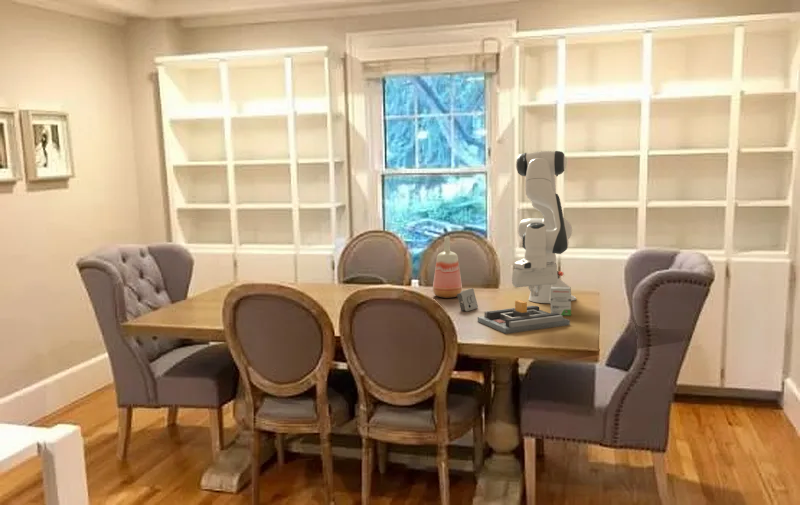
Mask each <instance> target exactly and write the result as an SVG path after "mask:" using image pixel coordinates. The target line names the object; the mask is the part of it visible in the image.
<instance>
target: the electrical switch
mask: <svg viewBox="0 0 800 505" xmlns="http://www.w3.org/2000/svg"><path fill="white" fill-rule="evenodd" d="M457 301H458V304H459V308H460V311H461V312H463V311H465V312H469V311H473V310H475V309H478V308H479V305H478V302H477V297H476V294H475V290H474V288H471V287H470V288H468V289H465V290H464V289H463V290H462V291H461V293H459V294H457Z"/></svg>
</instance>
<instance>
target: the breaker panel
mask: <svg viewBox="0 0 800 505" xmlns="http://www.w3.org/2000/svg"><path fill="white" fill-rule="evenodd" d="M527 311H528V312H529V315H527V316H534V315H541V314H549V313H550V312H547V311H544V310H541V309H539V311H537V310H534V309H533V310H527ZM519 317H526V316H519ZM510 318H518V317H513V312H509V313H501V314H500V317H499V318H491V319H490V318H487V317H485V316H484V315H483V316H482V315H481V316H477V322H478V323H479V324H482V325H485V326H487V327H488V328H489V327H490V328H492V329H494V330H496V331H498V332H500V333H503V334H515V333H522V332H528V331H536V330H542V329H549V328H556V327H565V326H571V320H570V319H568V318H564V317H563V321H557V322H550V323H543V324H535V325H528V326H520V327H513V328H511V327H509V326H507V325H506V319H510Z"/></svg>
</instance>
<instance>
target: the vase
mask: <svg viewBox="0 0 800 505" xmlns="http://www.w3.org/2000/svg"><path fill="white" fill-rule="evenodd" d="M443 240H444V243H443V244H444V245H443V247H444V248H443V251H441V252H439V253H438V254H437V255H436V261H435V268H434V276H433V283H432V292H433V294H434V295H435V296H436V297H439V298H443V299H449V298H450V299H451V298H456V297H457V298H458V296H457V294H459V293H461V291H463V286H462V285H463V284H462V277H461V270H460V263H459V256H458V254H457V253H456V252H454V251H451V237H450V236H444V239H443Z"/></svg>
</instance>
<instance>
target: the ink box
mask: <svg viewBox="0 0 800 505" xmlns="http://www.w3.org/2000/svg"><path fill="white" fill-rule="evenodd" d="M571 295H572V288H571V286H569V287H551V303H550V313H559V314H560V315H562V316H572V301H571Z"/></svg>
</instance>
